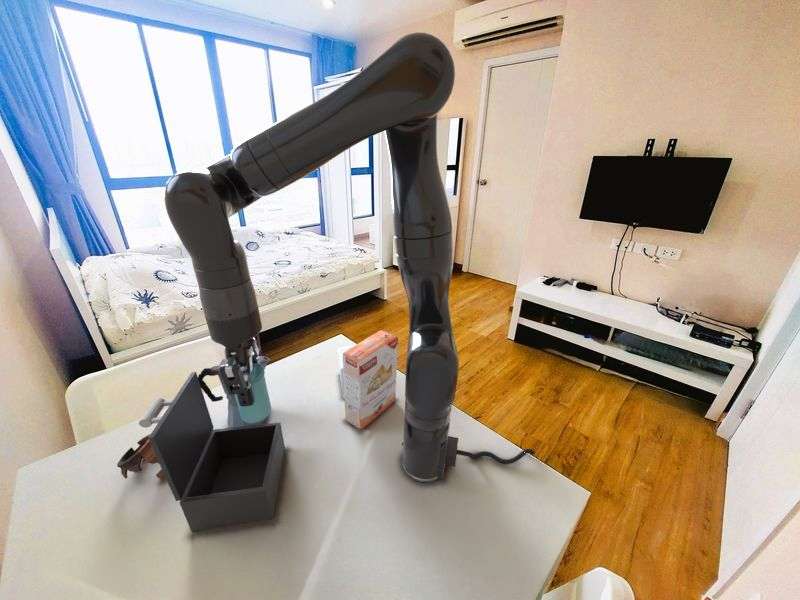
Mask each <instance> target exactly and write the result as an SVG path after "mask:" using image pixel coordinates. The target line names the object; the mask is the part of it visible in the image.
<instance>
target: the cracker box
mask: <svg viewBox="0 0 800 600" xmlns="http://www.w3.org/2000/svg"><path fill="white" fill-rule="evenodd" d="M354 345H355V346H353V345H352V346H353V347H352V348H350V349H348V350H347V351H345V352H343V371H344V394H345V398H344V410H345V411H344V412H345V413H344V414H345V421H346V422H348V423H349V424H351V425H352V426H353V427H355V428H358V429H359V430H362V429H365V428H366V427H367V426H368V425H370V423H372V422H373V421H374V420H375V419H377V417H378V416H380V415H381V414H382V413H383V412H384V411H386V410H387V409H388V408H389V407H390V406H391V405H392V404H393V403H394V402H395V401H396V395H397V393H396V392H397V369H398V348H399V346H398V345H399V337H398V336H397V335H394V334H392V333H390V332H388V331H385V330H383V329H380V330H379V331H377V332H375V333H374V334H372V335H370V336H368V337H367V338H365V339H364V340H362V341H360V342H358V343H357V344H354Z"/></svg>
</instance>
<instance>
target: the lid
mask: <svg viewBox="0 0 800 600" xmlns="http://www.w3.org/2000/svg"><path fill="white" fill-rule="evenodd" d="M164 407H167V409H166V410H165V412H164V414H163V415H162V416H159V415H160V413H162V410H163V409H164ZM153 424H156V425H155V427H154V429H153V430H152V431H151V433H149V434H150V436H149V438H148V439H149V441H150V444H151V446H152V448H153V450H154V453H155V455H156V457H157V459H158V462H159V463H158V462H157V463H158V464H159V466H160V469H162V471H163V473H164V475H165V477H164V478H165V480H166V481H167V482H166V483H167V484H168V486H169V488H170V491H171V493H172V495H173V499H174V500H175V502H180V501H181V499H182V497H183V495H184V493H185V491H186V488H187V486H188V484H189V482H190V479H191V477H192V475H193V473H194V471H195V468H196V466H197V464H198V462H199V459H200V457H201V455H202V453H203V451H204V448H205V446H206V444H207V442H208V439H209V437H210V435H211V433H212V431H213V430H214V428H215V427H214V424H213V421H212V418H211V415H210V411H209V407H208V405H207V402H206V399H205V396H204V391H203V390H202V388H201V386H200V383H199V380H198V374H197V371H192V372H191V373H190V374H189V376H188V377H187V378H186V380H185V382H184V383H183V385H182V386H181V388H180V389H179V391H178V392H177V394H176V395H175V397H174V398H173V399H169V400H166V399H164V398H163V397H162V398H161V397H158V398H155V399H154V400H153V402H152V403H151V405H150V406H149V407H148V409H147V410H146V412H144V414H143V416H142V417H141V418H140V420H139V421H138V425H139V426H140V427H142V428H144V429H146V428H147V429H148V428H151V426H152V425H153Z"/></svg>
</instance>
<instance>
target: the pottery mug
mask: <svg viewBox="0 0 800 600" xmlns="http://www.w3.org/2000/svg"><path fill="white" fill-rule="evenodd" d="M150 434H151V433H149V434H147V435H145V436H143V437H141V439H139V440H138V441H137V442H136V443H137V445H139V446H137V448H135V450H134V448H133V447H130V448H129V449H128V450H127V451H126V452H125V453H124V454H123V455H122V456H121V458H120V459H119V460H118V462H117V463H116V467H117V468H120V474H121V475H122V477H123V478H124V480H125V479H128V472H132V473H134V474H136V473H140V472H142V470H143V469H142V466H141V465H142V460H145V461H146V463H147V464H150V465H153V464H156V463H158V464H159V462H158V459H157V457H156V455H155V453H154V450H153V448H152V446H151V444H150V441H149V439H148V438H149V436H150ZM155 477H156V478H157V479H160V480H163V479H164V478H166V477H165V475H164V473H163V471H162V468H160V470H159V471H158V472H157V473H156V474H155Z"/></svg>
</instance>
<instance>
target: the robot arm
mask: <svg viewBox="0 0 800 600" xmlns="http://www.w3.org/2000/svg"><path fill="white" fill-rule="evenodd" d="M455 79H456V67H455V62H454V58H453V56H452V54H451V51H450V49H449V48H448V46H447V45H446V44H445V43H444V42H443V41H442V40H441V39H440V38H438V37H437V36H435V35H434V34H431V33H427V32H420V31H415V32H411V33H408V34H405V35H403V36H401V37H400V38H398V39H397V40H396V41H394V43H392V44H391V46H390V47H389V48H387V49H386V50H385V51H384V52H383V53H382V54H380V55H379V56H378V57H377V58H376V59H374V61H372V62H371V63H370V64H369V65H367V66H366V67H365V68H364V69H362V70H361V71H360V72H358V74H356V75H354V77H352V78H350V79H349V80H347V82H345V83H343V84H342V85H341V86H339V87H338V88H336V89H334V90H332V92H330V93H329V94H327V95H325V96H323V97H322V98H320V99H318V100H316V101H314V102H313V103H311V104H309V105H307V106H306V107H303V108H302V109H300V110H298V111H296V112H294V113H292V114H290V115H288V116H287V117H285V118H283V119H281V120H279V121H277V122H275V123H273V124H271V125H269V126H267V127H266V128H264V129H263V130H262V129H261V130H260V131H258V132H257V133H255V134H253V135H251V136H249V137H248V138H246V139H245V140H243V141H241V142H240V143H238V144H236V146H234V148H233V149H232V150H231V153H230V154H228V155H226V156H224V157H222V158H220V159H218V160H217V161H215V162H213V163H211V164H209V165H207V166H205V167H202V168H200V169H192V170H184V171H179V172H177V173H175V174H174V175H172V176H171V177H170V178H169V179H168V181H167V182H166V183H165V188H164V195H163V197H164V198H163V199H164V207H165V210H166V213H167V216H168V219H169V221H170V223H171V225H172V227H173V229H174V231H175V233H176V234H177V237H178V239H179V240H180V242H181V244H182V245H183V247H184V249H185V250H186V252H187V254H188V256H189V257H190V260H191V264H192V267H193V272H194V275H195V278H196V283H197V286H198V292H199V299H200V305H201V307H202V310H203V314H204V318H205V321H206V325H207V328H208V332H209V336H210V339H211V340H212V342H214V343H216V344H219V345H222V346H223V347H224V348H225V349H224V359H226V360H227V365H223V366H220V369H219V371H220V374H221V376H222V379H223V381H224V384H225V386H226V388H227V391H228V393H229V395H232V394H237V397H238V400H239V404H240V406H242V407H244V406H252V405H253V404H254V396H253V392H252V388H251V382H250V374H251V373H252V372H253V367H252V363H256V364H258V363H259V362H260V358H259V356H262V348H261V340H260V333H261V332H262V330H263V324H262V320H261V313H260V309H259V305H258V300H257V295H256V290H255V287H254V284H253V282H252V278H251V274H250V269H249V264H248V258H247V255H246V251H245V248H244V246H243V245H242V244H241V242H239V241H238V240H236V239H235V237H234V234H233V231H232V228H231V224H230V219H229V218H231V217H232V216H234V215H236V214H238V213H239V212H241V211H242V210H244V209H246V208H247V207H249V206H250V205H253V204H254V203H255V202H257V201H259V200H260V199H261V198H263V197H267V196H270V195H273V194H275V193H277V192H279V191H281V190H283V189H285V188H287V187H288V186H290V185H292V184H294V183H296V182H298V181H300V180H301V179H303V178H305V177H307V176H308V175H310V174H312V173H314V172H316V171H317V170H318V169H320V168H321V167H323V166H325V165H326V164H328V163H329V162H330V161H332V160H334V159H335V158H337V157H338V156H339V155H341V154H343V153H344V152H346V151H348V150H349V149H351V148H352V147H354V146H356V145H358V144H359V143H362V142H363V141H366V140H367V139H369V138H371V137H374V136H375V135H379V134H380V133H382V132H384V135H385V140H386V144H387V145H386V146H387V150H388V156H389V162H390V163H389V164H390V165H389V166H390V183H391V185H390V187H391V188H390V191H391V192H390V193H391V212H392V230H393V240H394V247H395V248H394V249H395V256H396V257H395V258H396V263H397V267H398V271H399V275H400V278H401V282H402V285H403V287H404V290H405V293H406V297H407V301H408V311H409V313H408V314H409V315H408V317H409V319H408V320H409V323H408V324H409V325H408V326H409V327H408V329H409V331H408V341H407V349H406V350H407V351H406V358H405V359H406V360H405V377H404V378H405V382H404V383H405V384H404V385H405V386H404V418H403V419H404V420H403V423H404V424H403V441H402V442H401V446H402V458H401V459H402V460H401V461H402V462H401V464H402V468H403V470H404V472H405V473H406V475H407V477H409V478H411V479H412V480H414V481H416V482H419V483H431V482H432V483H433V482H435V481H436V480H440V481H442V480H443V479H444V473H445V470H446V469H445V468H446V466H450V467H456V462H457V455H458V456H463V457H468V458H469V459H471V460H474V459H477V458H480V457H489V458H491V459H493V460H494V461H496V462H498V463H499V464H502V465H511V464H514V463H516V462H518V461H520V460H521V459H522V458H524V456H526V455H527V454H531V455H535V454H536V452H535V450H533V449H532V448H525V449H523V450H522V451H520V452H519V453H518V454H517V455H515V456H514V457H512V458H508V459H507V458H506V459H504V458H501V457H499V456H497V455H496V454H495V453H492V452H491V451H478V452H475V453H472V452H470V451H466V450H460V449H458V444H459V437H456V436H451V435H449V433H450V423H451V415H452V407H453V404H454V401H455V399H456V393H457V392H456V391H457V385H458V378H459V371H460V370H459V369H460V363H459V362H460V361H459V354H458V348H457V343H456V339H455V334H454V330H453V324H452V319H451V318H452V317H451V313H450V304H449V295H450V288H451V282H452V274H453V265H454V264H453V263H454V258H453V257H454V245H453V243H454V242H453V224H452V223H453V222H452V221H453V220H452V215H451V214H452V213H451V209H450V205H449V200H448V197H447V193H446V188H445V185H444V181H443V178H442V174H441V171H440V166H439V159H438V145H437V144H438V141H437V140H438V138H437V137H438V133H437V131H438V130H437V129H438V114H439V113H440V112H441V111H442V110H443V108H444V107H445V106H446V104H447V103H448V101H449V99H450V97H451V95H452V93H453V89H454V86H455ZM245 366H247V369H243V370H242V368H241V367H245ZM243 376H245V379H244V377H243ZM524 452H525V453H524ZM526 453H527V454H526Z"/></svg>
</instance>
